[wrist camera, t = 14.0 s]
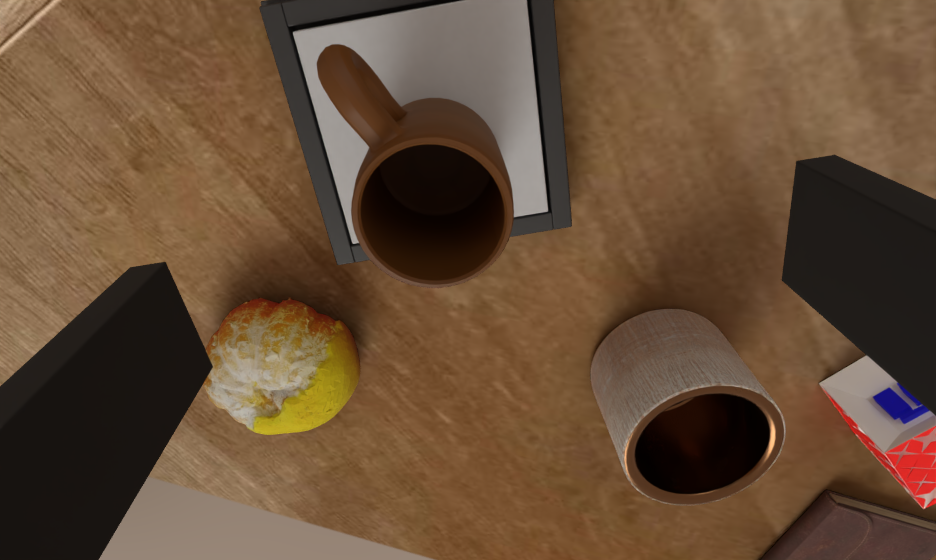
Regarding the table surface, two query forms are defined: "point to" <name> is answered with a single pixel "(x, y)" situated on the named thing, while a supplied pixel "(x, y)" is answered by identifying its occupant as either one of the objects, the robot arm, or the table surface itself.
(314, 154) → the scale
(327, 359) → the fruit
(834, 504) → the notebook
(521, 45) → the scale pan
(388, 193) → the mug
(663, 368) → the planter
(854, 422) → the red and white box
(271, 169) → the table surface
